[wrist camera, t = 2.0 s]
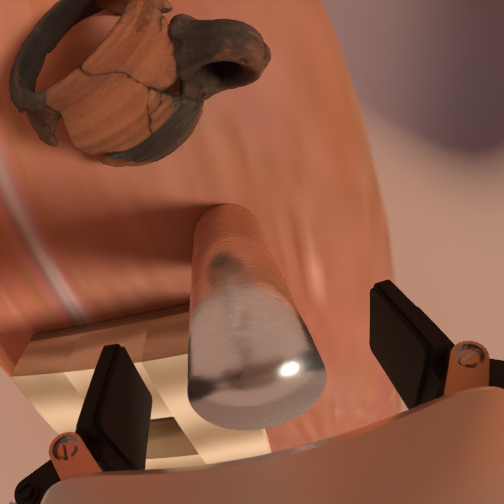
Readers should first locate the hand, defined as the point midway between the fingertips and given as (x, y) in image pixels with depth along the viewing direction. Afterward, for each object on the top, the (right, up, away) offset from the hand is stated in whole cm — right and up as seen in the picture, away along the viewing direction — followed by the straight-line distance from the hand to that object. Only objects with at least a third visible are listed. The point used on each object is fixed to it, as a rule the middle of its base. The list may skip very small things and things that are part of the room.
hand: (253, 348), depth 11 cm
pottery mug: (-6, +13, +4) cm, 15 cm away
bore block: (-8, -8, +13) cm, 17 cm away
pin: (-2, +4, +8) cm, 9 cm away
